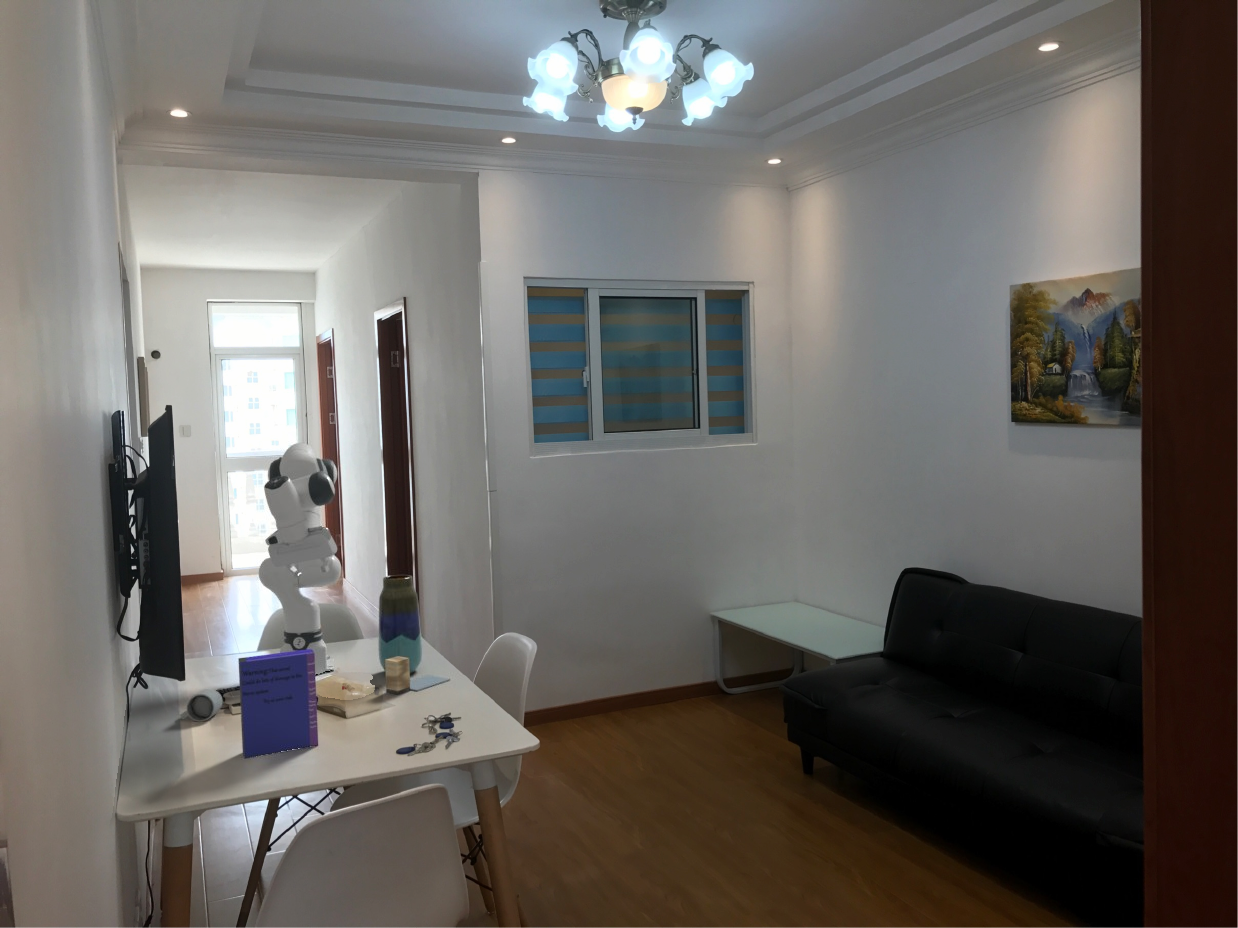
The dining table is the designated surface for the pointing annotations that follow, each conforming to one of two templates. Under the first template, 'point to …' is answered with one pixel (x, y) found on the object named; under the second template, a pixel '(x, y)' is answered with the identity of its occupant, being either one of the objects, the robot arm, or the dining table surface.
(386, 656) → the vase
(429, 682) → the rubber mat
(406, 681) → the oak block
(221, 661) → the dining table surface
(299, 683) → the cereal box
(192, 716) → the ceramic mug
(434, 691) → the dining table surface
